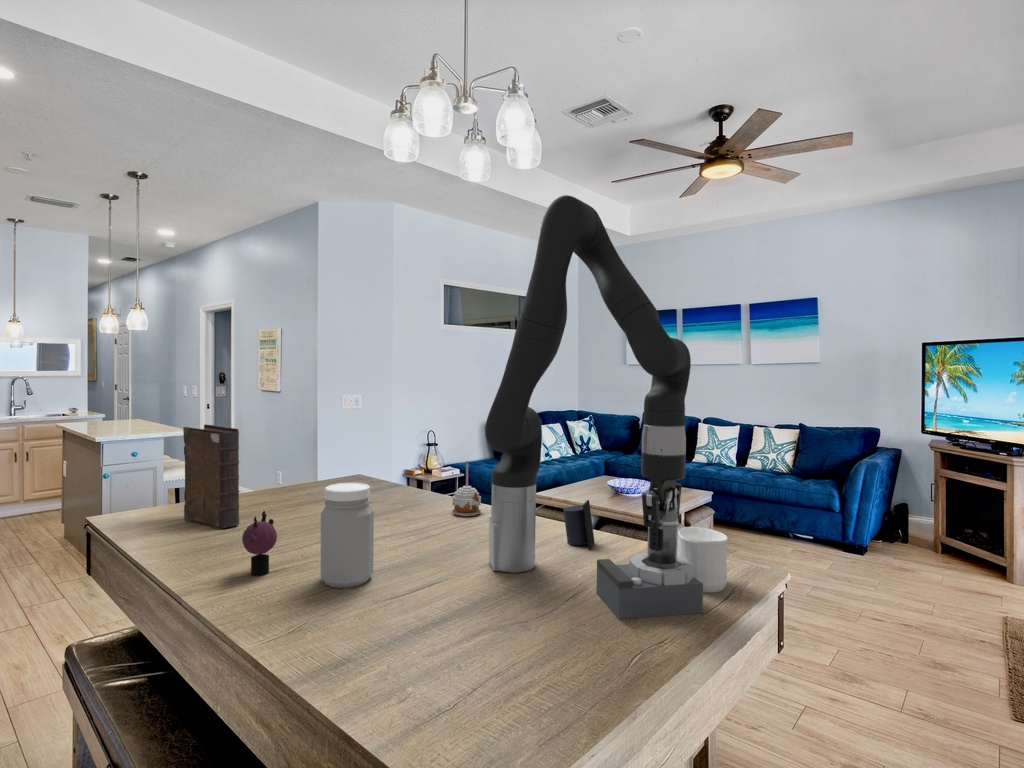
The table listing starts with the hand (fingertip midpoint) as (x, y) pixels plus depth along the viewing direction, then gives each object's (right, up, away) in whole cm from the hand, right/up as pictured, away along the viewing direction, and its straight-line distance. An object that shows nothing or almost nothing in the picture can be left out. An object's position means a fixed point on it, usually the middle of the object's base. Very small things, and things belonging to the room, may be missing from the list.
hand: (661, 545), depth 100 cm
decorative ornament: (-39, -8, +59) cm, 71 cm away
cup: (+10, -10, +9) cm, 17 cm away
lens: (0, -2, 0) cm, 2 cm away
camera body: (-3, -10, 0) cm, 10 cm away
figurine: (-76, -9, +11) cm, 77 cm away
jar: (-58, -9, +9) cm, 60 cm away
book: (-104, -8, +46) cm, 114 cm away
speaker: (-11, -9, +33) cm, 36 cm away
